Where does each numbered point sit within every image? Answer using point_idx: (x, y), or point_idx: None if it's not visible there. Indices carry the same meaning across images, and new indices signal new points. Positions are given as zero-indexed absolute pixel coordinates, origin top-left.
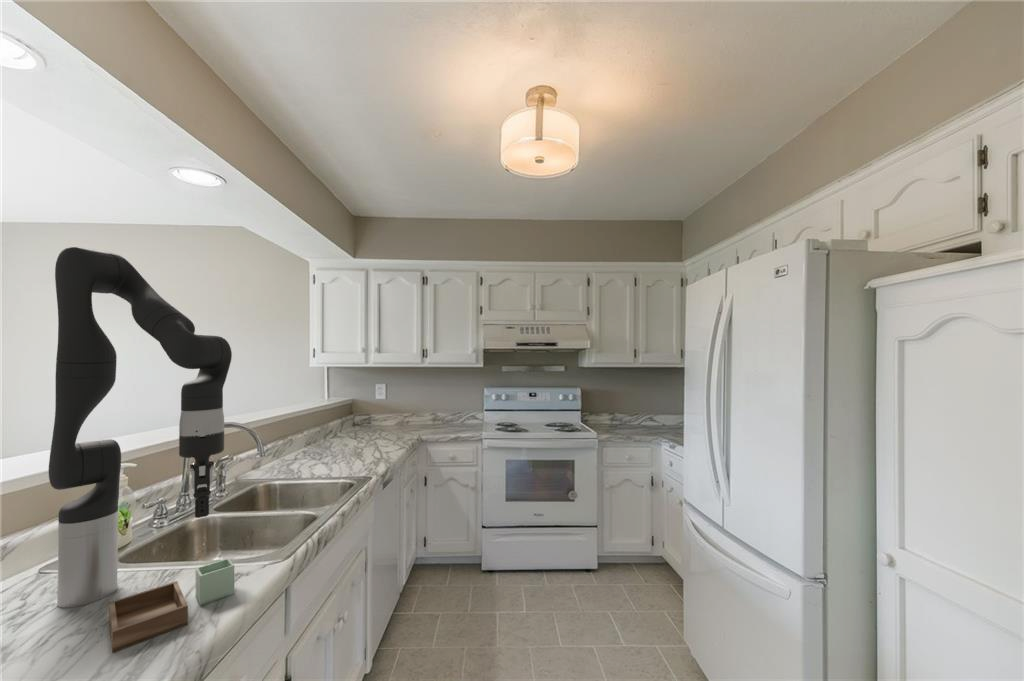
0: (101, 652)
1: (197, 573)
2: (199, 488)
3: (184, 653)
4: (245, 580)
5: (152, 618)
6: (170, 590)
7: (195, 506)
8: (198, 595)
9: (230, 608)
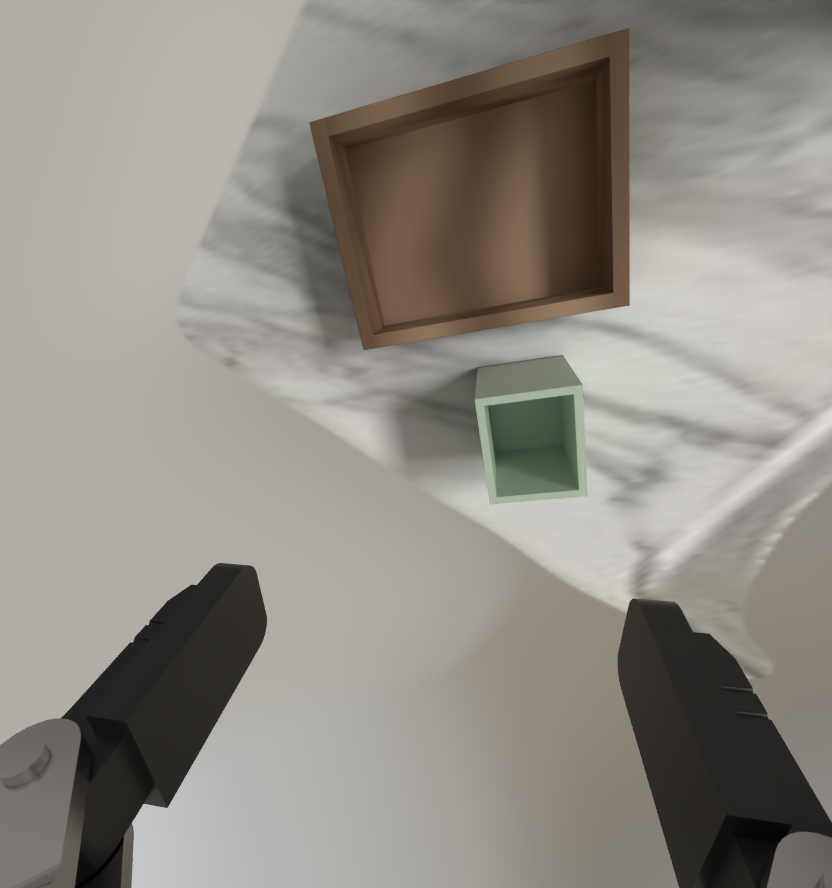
0: (368, 98)
1: (533, 388)
2: (711, 835)
3: (237, 334)
4: None
5: (339, 248)
6: (607, 280)
7: (152, 639)
8: (507, 370)
9: (408, 438)
